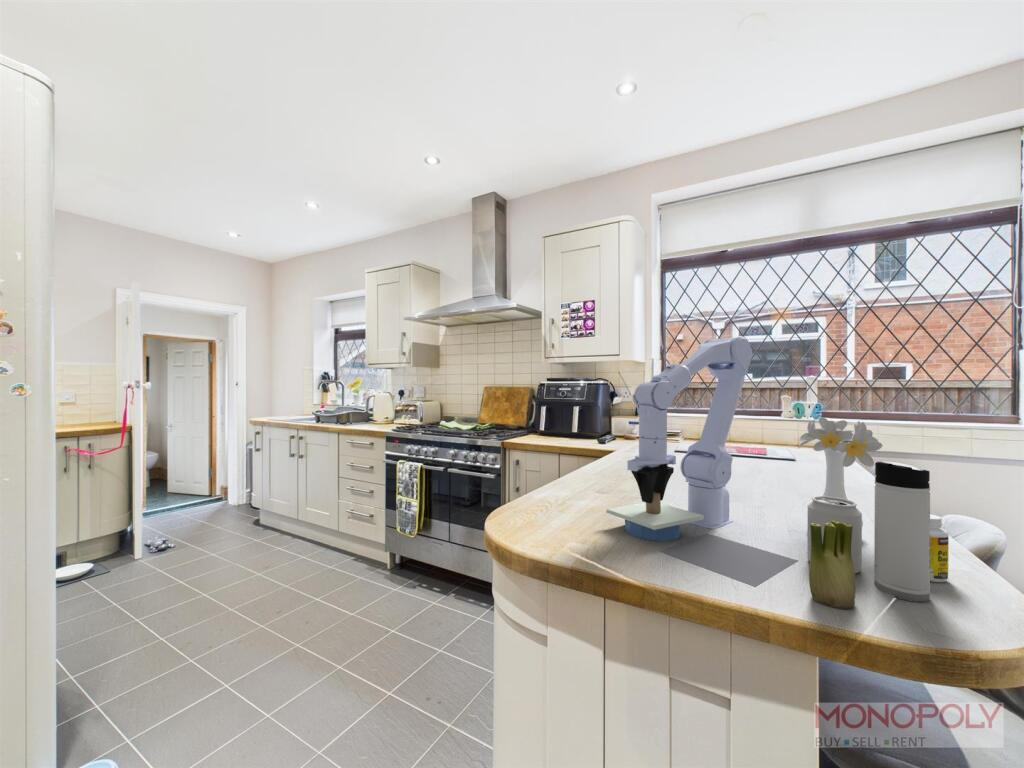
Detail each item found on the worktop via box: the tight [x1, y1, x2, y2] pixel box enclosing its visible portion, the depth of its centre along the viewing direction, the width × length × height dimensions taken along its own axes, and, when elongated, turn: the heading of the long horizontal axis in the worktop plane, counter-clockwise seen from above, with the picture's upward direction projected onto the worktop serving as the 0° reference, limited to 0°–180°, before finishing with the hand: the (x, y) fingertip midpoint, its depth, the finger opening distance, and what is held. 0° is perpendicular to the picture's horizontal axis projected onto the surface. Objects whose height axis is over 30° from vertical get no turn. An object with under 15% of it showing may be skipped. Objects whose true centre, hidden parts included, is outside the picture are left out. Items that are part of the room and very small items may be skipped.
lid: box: [605, 492, 704, 530], centre depth 89 cm, size 14×14×5 cm
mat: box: [659, 533, 799, 588], centre depth 76 cm, size 17×17×1 cm
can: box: [806, 495, 863, 574], centre depth 72 cm, size 8×8×12 cm
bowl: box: [624, 519, 681, 542], centre depth 89 cm, size 11×11×4 cm
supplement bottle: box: [930, 513, 949, 583], centre depth 70 cm, size 6×6×10 cm
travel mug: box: [873, 461, 931, 603], centre depth 64 cm, size 6×7×20 cm
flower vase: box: [797, 416, 883, 528], centre depth 89 cm, size 13×18×25 cm
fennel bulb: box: [808, 521, 857, 610], centre depth 60 cm, size 6×5×12 cm
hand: (652, 500), depth 89 cm, fingers open, 3 cm apart
